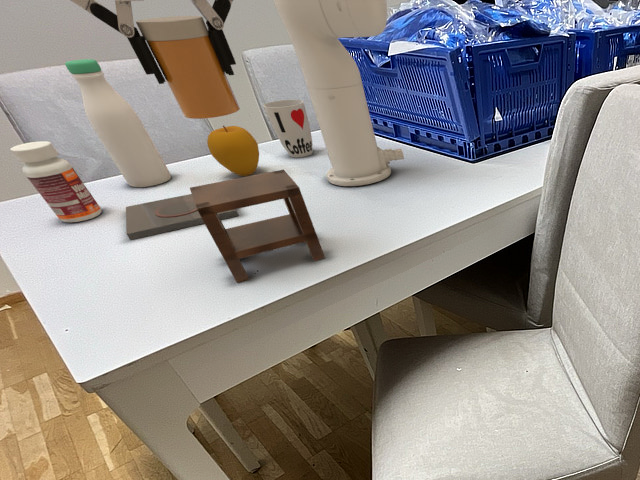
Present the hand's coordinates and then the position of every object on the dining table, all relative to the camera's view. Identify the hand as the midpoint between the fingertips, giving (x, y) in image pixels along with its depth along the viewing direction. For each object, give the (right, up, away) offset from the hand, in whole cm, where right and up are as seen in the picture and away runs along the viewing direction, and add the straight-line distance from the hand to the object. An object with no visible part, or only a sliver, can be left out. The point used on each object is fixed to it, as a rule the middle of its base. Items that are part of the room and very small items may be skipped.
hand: (195, 75), depth 50 cm
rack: (0, -16, +15) cm, 22 cm away
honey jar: (0, -3, +3) cm, 4 cm away
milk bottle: (-40, +8, +41) cm, 58 cm away
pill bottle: (-42, -5, +28) cm, 51 cm away
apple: (-22, +11, +43) cm, 50 cm away
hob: (-24, -4, +28) cm, 37 cm away
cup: (-15, +20, +53) cm, 58 cm away
